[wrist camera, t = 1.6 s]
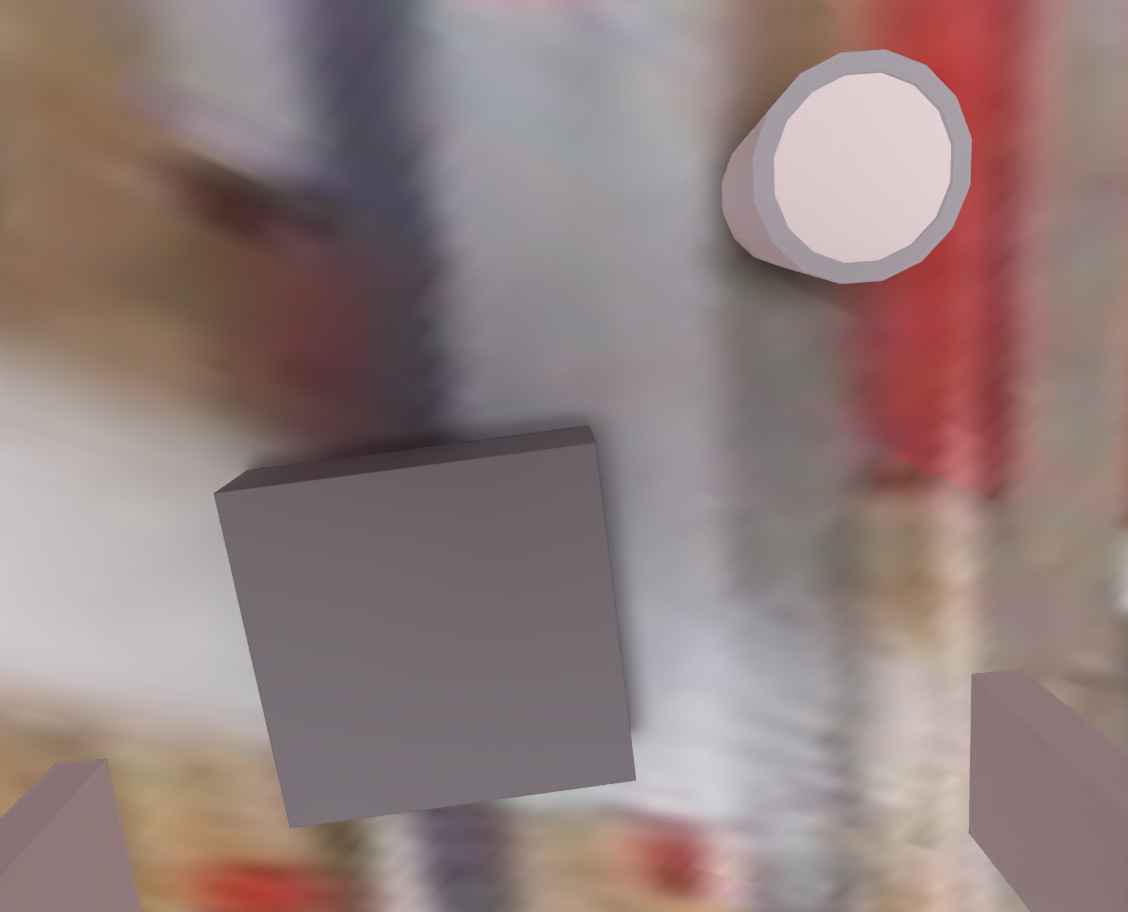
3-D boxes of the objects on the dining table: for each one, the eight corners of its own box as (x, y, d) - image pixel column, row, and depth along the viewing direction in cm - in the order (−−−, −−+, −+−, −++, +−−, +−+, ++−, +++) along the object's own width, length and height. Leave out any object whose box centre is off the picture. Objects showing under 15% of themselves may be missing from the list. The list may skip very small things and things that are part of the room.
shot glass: (913, 208, 32) (1016, 190, 25) (770, 318, 33) (833, 329, 26) (816, 58, 31) (897, -5, 24) (669, 175, 31) (707, 147, 25)
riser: (250, 467, 34) (213, 493, 30) (587, 423, 34) (595, 443, 30) (315, 769, 37) (290, 828, 33) (624, 727, 37) (636, 780, 33)
